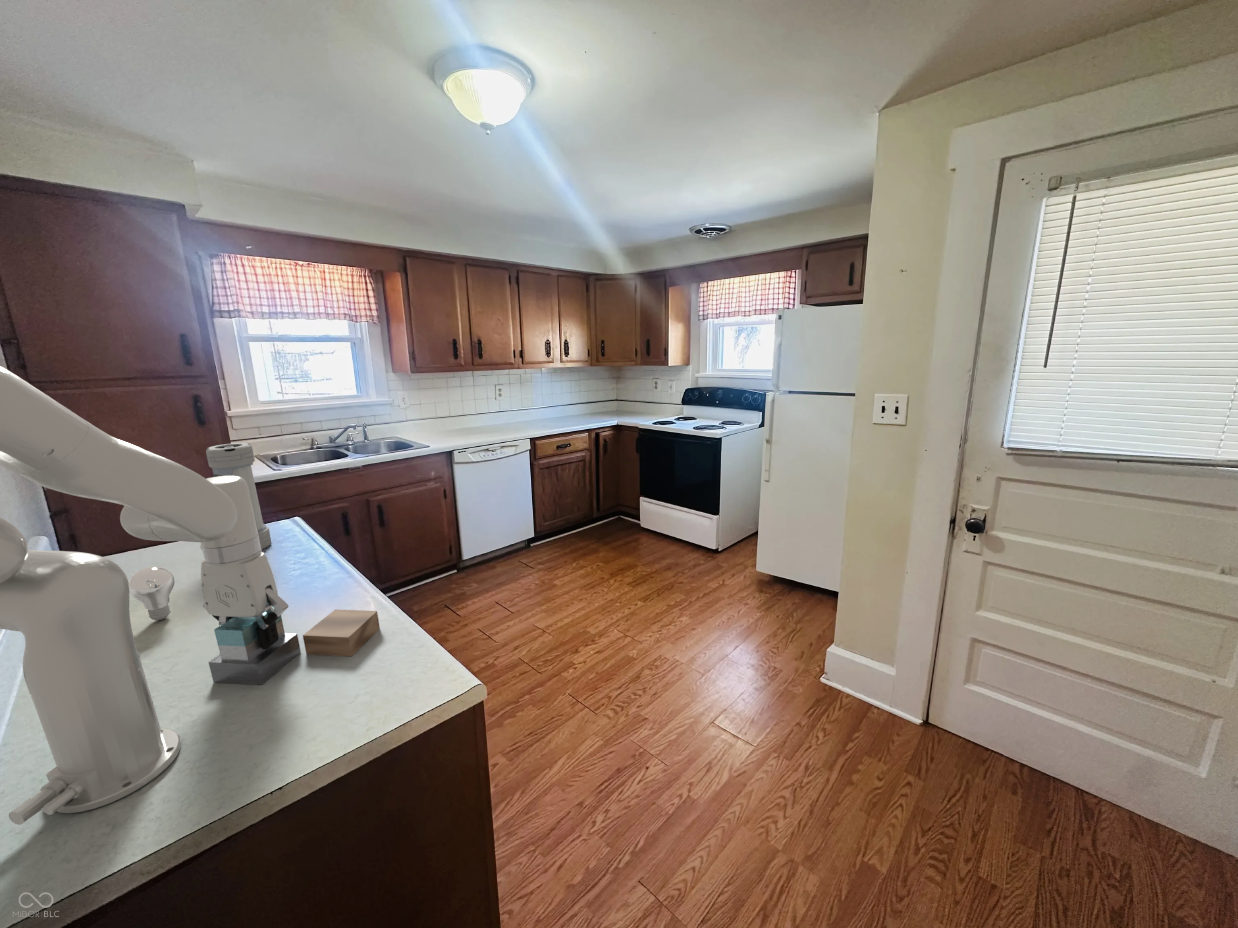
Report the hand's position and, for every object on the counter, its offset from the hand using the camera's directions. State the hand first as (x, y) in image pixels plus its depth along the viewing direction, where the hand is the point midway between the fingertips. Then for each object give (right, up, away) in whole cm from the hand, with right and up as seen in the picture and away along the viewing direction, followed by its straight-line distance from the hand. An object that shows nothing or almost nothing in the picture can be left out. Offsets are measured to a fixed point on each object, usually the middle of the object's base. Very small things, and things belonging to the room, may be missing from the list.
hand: (253, 642), depth 85 cm
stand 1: (0, -5, +1) cm, 5 cm away
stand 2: (+11, -3, +8) cm, 14 cm away
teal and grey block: (0, -1, 0) cm, 1 cm away
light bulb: (-33, -2, +17) cm, 37 cm away
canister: (-42, +7, +54) cm, 69 cm away
